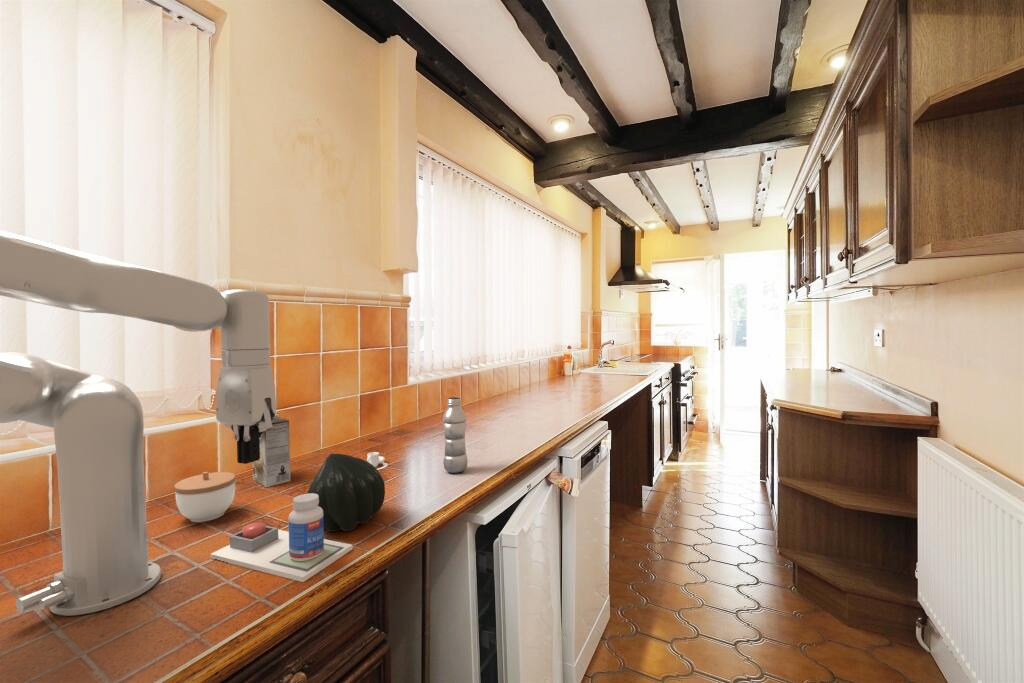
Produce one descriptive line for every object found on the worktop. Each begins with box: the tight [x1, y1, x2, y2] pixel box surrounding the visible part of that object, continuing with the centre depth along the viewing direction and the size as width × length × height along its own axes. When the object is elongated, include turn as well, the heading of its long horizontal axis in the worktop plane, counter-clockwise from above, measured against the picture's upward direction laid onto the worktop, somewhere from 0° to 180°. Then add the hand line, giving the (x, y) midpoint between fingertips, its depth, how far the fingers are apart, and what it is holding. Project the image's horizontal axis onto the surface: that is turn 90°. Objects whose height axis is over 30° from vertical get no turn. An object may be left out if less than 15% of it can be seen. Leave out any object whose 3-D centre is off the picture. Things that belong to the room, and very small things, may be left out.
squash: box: [306, 452, 386, 532], centre depth 91 cm, size 14×15×15 cm
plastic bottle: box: [442, 396, 469, 474], centre depth 122 cm, size 6×7×20 cm
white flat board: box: [210, 525, 354, 583], centre depth 79 cm, size 11×21×3 cm, turn 68°
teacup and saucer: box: [366, 451, 389, 471], centre depth 129 cm, size 9×8×4 cm
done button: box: [241, 521, 267, 539], centre depth 82 cm, size 4×4×2 cm
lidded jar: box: [173, 471, 237, 523], centre depth 96 cm, size 11×11×9 cm
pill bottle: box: [288, 493, 325, 561], centre depth 77 cm, size 6×5×10 cm
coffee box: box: [251, 415, 291, 488], centre depth 117 cm, size 9×6×16 cm
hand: (248, 461), depth 81 cm, fingers closed
